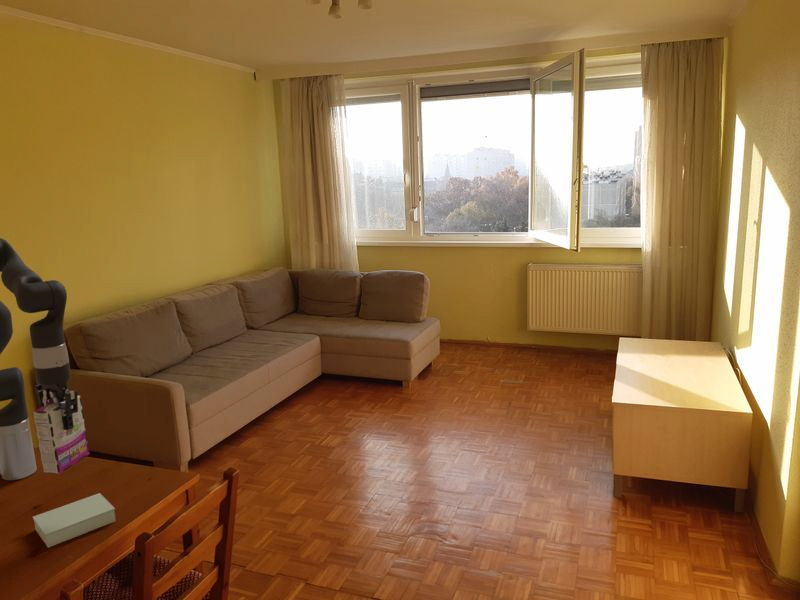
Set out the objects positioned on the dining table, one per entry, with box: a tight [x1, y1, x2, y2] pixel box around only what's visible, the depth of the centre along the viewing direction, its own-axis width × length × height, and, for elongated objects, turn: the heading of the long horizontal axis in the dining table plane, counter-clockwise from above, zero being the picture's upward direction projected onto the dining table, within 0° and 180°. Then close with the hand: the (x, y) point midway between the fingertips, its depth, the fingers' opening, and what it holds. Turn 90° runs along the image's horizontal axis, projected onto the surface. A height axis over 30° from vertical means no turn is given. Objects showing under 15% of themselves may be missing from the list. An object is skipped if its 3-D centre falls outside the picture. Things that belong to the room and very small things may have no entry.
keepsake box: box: [32, 492, 116, 548], centre depth 159 cm, size 16×11×4 cm
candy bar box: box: [32, 395, 90, 475], centre depth 154 cm, size 11×5×16 cm, turn 168°
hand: (61, 426), depth 154 cm, fingers closed on candy bar box, 6 cm apart
